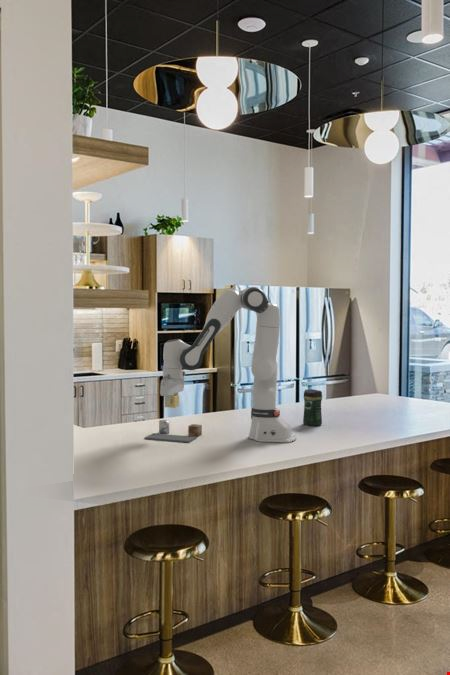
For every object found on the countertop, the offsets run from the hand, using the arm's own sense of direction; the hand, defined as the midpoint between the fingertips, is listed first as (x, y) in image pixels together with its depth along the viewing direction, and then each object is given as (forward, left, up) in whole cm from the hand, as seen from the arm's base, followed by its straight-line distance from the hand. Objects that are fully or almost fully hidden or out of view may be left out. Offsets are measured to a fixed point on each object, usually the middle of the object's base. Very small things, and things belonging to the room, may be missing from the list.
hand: (171, 403), depth 303 cm
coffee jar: (-56, -57, -17) cm, 82 cm away
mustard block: (0, 0, -2) cm, 2 cm away
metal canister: (+8, -9, -17) cm, 20 cm away
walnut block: (-8, -9, -17) cm, 21 cm away
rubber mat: (0, +2, -16) cm, 17 cm away
